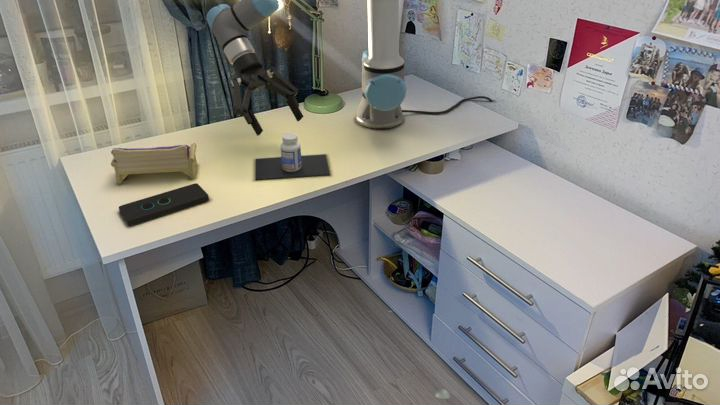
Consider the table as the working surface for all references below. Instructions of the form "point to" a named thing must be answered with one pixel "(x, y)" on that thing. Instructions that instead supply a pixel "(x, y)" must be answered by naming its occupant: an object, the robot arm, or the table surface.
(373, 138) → the table surface
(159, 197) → the smart home device
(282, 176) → the mat
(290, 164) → the pill bottle
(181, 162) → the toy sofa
